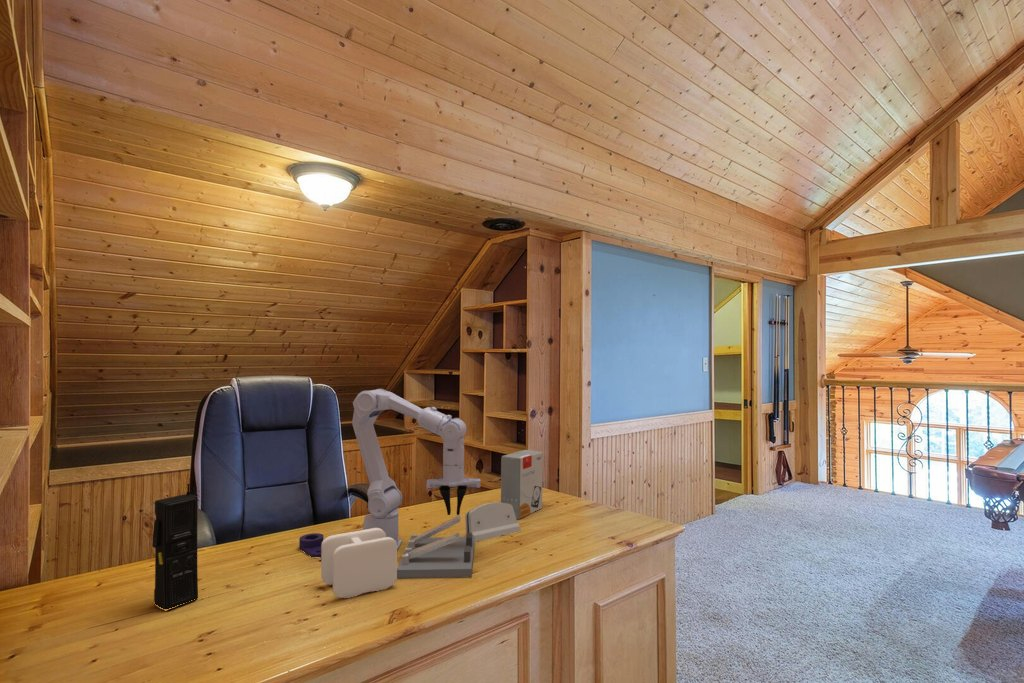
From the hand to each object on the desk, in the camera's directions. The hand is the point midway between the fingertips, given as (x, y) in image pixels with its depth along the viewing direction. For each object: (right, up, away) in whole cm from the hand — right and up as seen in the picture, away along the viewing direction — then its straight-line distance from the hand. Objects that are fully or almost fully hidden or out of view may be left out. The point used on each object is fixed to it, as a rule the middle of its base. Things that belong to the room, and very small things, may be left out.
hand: (453, 513), depth 143 cm
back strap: (-5, -5, 0) cm, 7 cm away
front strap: (-4, -6, -10) cm, 12 cm away
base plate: (-3, -10, -5) cm, 12 cm away
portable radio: (-58, -10, -29) cm, 65 cm away
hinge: (+10, -11, +15) cm, 21 cm away
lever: (-39, -11, +1) cm, 40 cm away
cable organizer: (-20, -10, -21) cm, 31 cm away
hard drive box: (+19, -11, +35) cm, 42 cm away
